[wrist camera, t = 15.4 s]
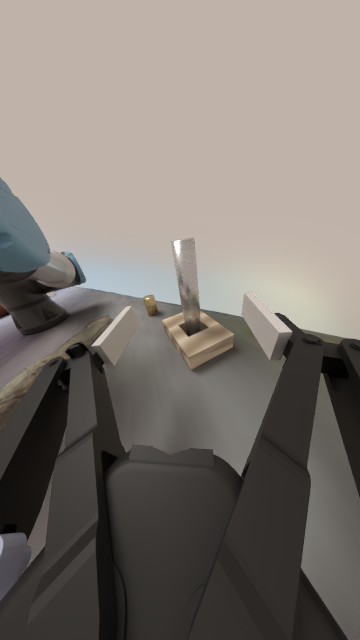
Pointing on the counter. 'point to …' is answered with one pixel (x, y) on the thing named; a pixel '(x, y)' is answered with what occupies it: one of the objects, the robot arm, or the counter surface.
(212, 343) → the guide block
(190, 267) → the steel pin
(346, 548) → the counter surface
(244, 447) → the counter surface
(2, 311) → the butternut squash
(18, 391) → the elongated rock
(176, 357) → the counter surface
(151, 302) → the brass stub pin
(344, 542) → the counter surface
